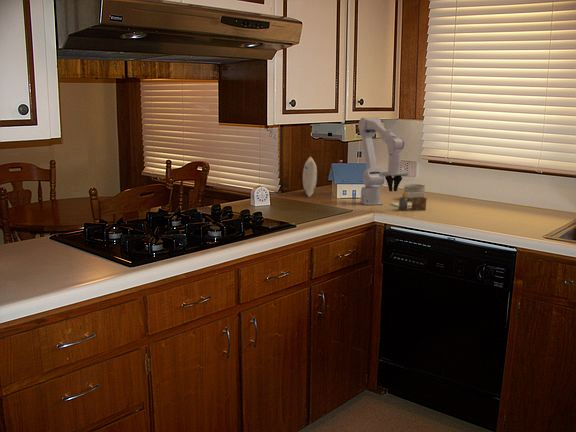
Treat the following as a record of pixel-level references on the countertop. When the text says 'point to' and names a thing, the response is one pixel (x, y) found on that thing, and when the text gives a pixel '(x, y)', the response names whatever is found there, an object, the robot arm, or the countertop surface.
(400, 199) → the plug
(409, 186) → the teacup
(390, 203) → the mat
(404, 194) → the steel bar
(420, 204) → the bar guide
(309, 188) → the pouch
